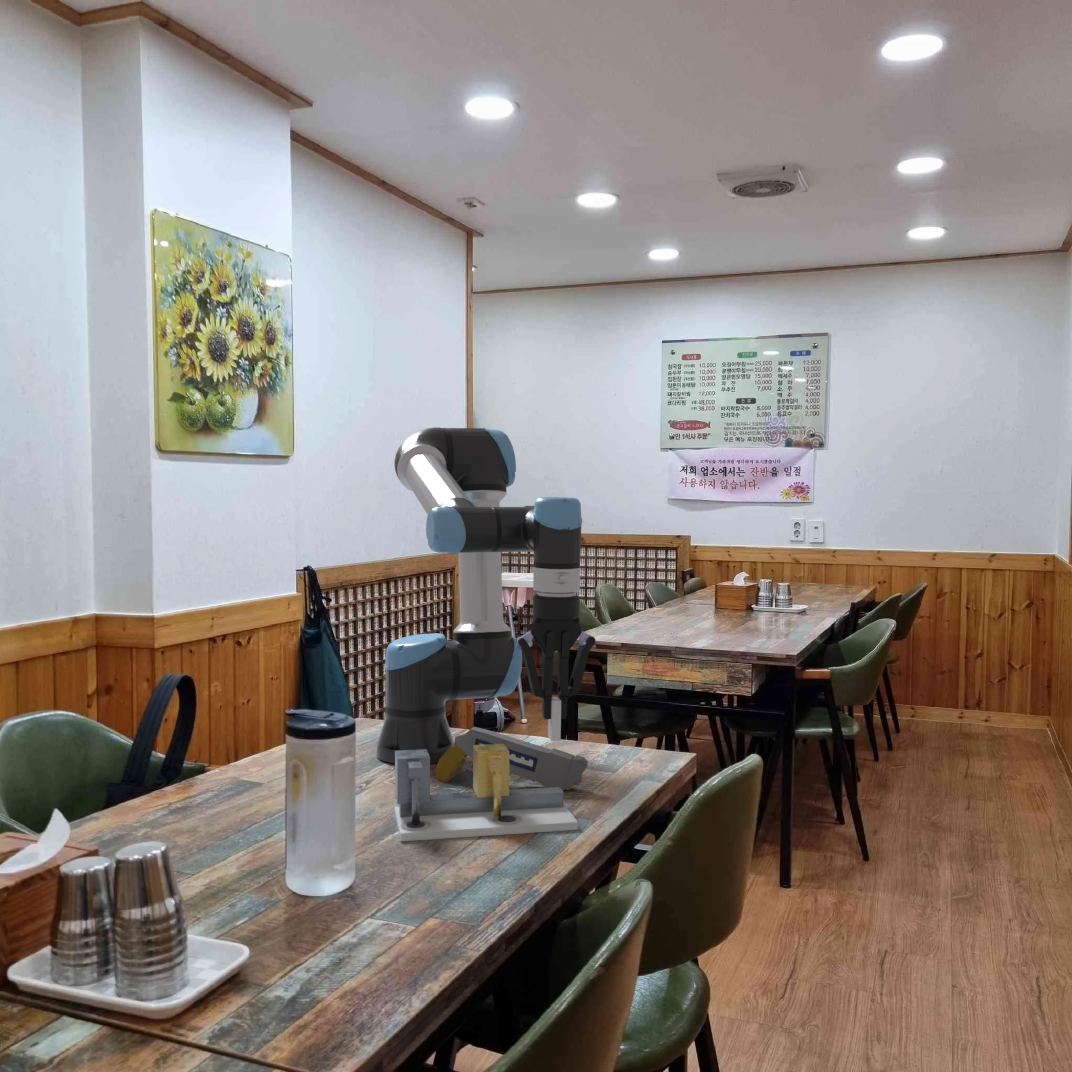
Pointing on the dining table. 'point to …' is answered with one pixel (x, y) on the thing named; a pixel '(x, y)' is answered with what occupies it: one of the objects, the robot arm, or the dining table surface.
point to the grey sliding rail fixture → (419, 801)
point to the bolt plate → (485, 823)
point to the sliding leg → (491, 773)
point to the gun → (516, 759)
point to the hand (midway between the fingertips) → (554, 738)
